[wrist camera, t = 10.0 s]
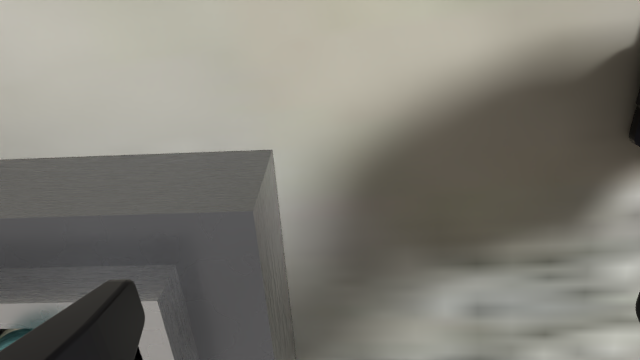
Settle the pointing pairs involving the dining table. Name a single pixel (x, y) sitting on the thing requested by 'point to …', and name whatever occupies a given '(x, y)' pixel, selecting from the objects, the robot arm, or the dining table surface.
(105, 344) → the robot arm
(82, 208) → the grey hollow block
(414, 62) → the dining table surface
